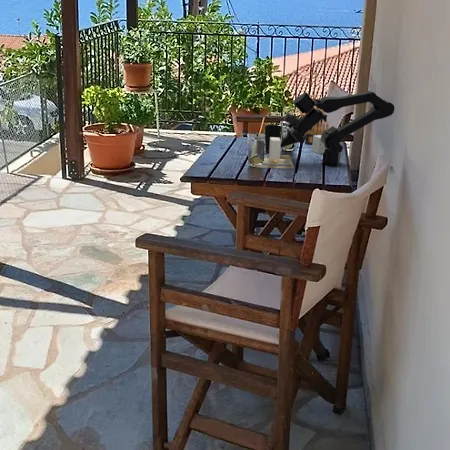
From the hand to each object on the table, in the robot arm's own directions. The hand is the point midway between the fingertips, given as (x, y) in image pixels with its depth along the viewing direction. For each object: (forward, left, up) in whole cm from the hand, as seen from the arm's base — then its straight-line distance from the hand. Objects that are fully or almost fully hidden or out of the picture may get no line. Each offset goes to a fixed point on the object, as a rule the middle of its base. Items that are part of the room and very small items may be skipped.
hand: (280, 146), depth 268 cm
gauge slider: (+1, +3, -6) cm, 7 cm away
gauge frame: (+1, +3, -7) cm, 8 cm away
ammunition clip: (0, -42, -7) cm, 43 cm away
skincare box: (-7, -30, -7) cm, 32 cm away
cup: (+10, -14, -7) cm, 19 cm away
